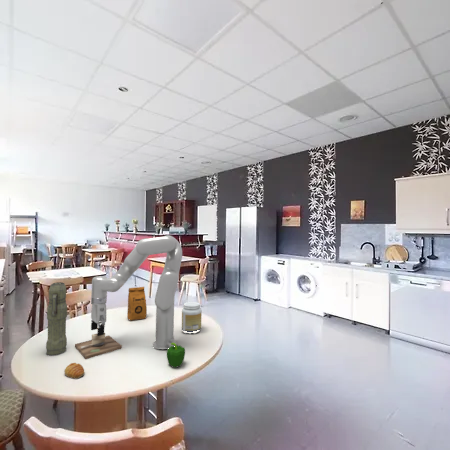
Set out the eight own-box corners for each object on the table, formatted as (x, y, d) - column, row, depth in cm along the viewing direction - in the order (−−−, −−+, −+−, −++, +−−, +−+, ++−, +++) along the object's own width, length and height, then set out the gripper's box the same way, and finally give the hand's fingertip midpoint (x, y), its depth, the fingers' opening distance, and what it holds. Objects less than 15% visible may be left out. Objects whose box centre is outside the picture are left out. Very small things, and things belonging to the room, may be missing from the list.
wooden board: (122, 348, 147) (122, 345, 147) (85, 359, 135) (85, 355, 135) (109, 338, 161) (109, 335, 161) (74, 346, 148) (74, 343, 148)
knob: (102, 341, 152) (102, 331, 152) (106, 344, 148) (106, 334, 148) (79, 347, 144) (79, 336, 144) (82, 350, 140) (82, 339, 140)
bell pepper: (188, 365, 131) (188, 344, 131) (173, 371, 126) (173, 349, 126) (178, 358, 137) (178, 338, 137) (163, 364, 132) (163, 343, 132)
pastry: (88, 375, 122) (88, 366, 122) (72, 382, 116) (73, 373, 116) (77, 368, 127) (78, 359, 127) (62, 374, 122) (62, 366, 122)
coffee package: (147, 319, 193) (148, 287, 193) (128, 322, 187) (129, 289, 187) (144, 315, 202) (145, 285, 202) (126, 317, 196) (127, 286, 196)
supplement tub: (205, 331, 174) (205, 304, 174) (190, 336, 165) (190, 308, 165) (192, 326, 182) (193, 300, 182) (177, 331, 173) (178, 303, 173)
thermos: (67, 345, 150) (69, 280, 150) (64, 355, 139) (66, 285, 139) (48, 348, 146) (50, 281, 146) (43, 358, 135) (45, 286, 135)
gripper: (112, 302, 144) (110, 335, 144) (100, 295, 157) (99, 326, 157) (97, 305, 139) (95, 339, 139) (86, 297, 152) (84, 329, 152)
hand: (97, 332), depth 148 cm, fingers open, 9 cm apart
